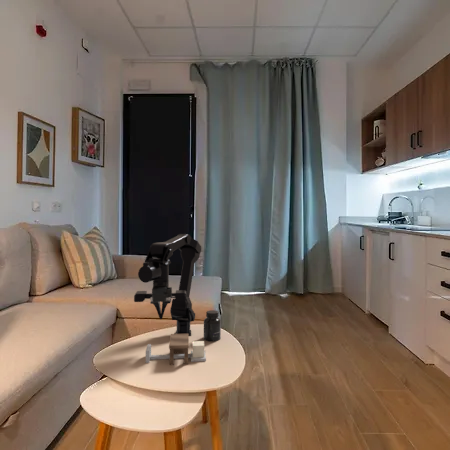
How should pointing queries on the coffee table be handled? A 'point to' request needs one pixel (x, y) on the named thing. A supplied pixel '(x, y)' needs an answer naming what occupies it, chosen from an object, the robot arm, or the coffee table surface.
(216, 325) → the supplement bottle
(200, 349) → the cream block
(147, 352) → the grey flanged bar
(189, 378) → the coffee table surface
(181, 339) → the walnut tunnel
